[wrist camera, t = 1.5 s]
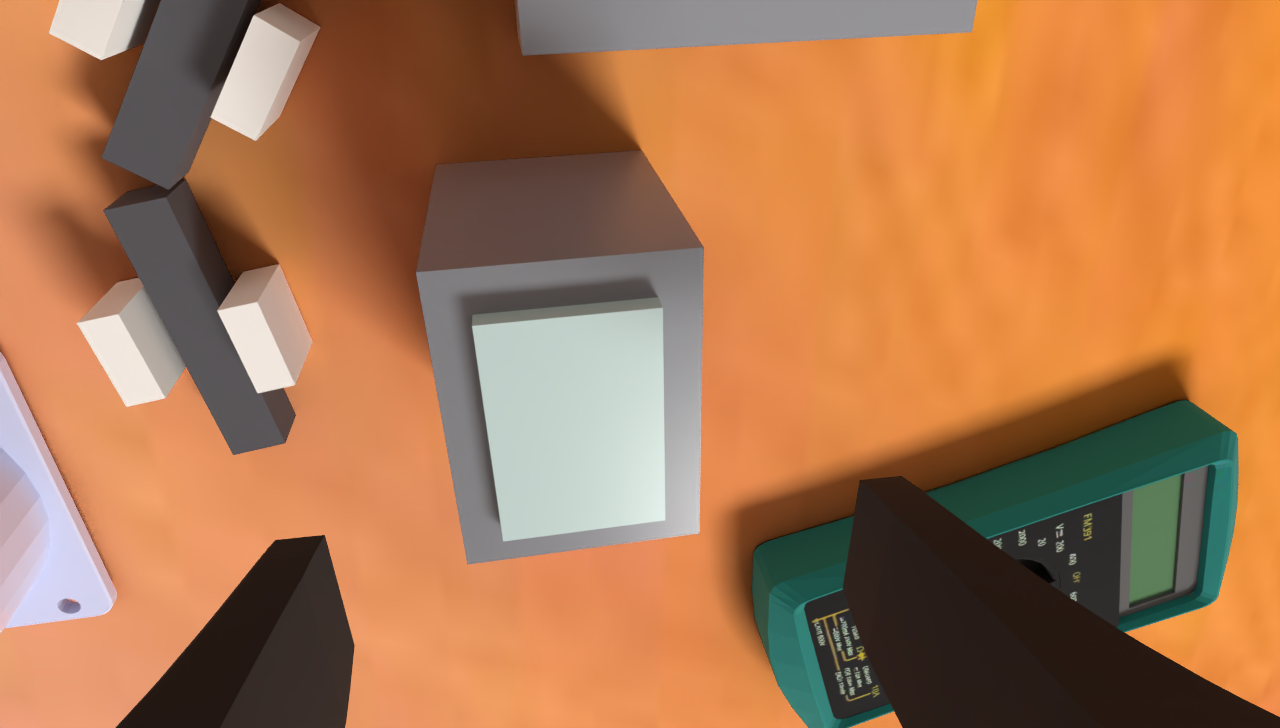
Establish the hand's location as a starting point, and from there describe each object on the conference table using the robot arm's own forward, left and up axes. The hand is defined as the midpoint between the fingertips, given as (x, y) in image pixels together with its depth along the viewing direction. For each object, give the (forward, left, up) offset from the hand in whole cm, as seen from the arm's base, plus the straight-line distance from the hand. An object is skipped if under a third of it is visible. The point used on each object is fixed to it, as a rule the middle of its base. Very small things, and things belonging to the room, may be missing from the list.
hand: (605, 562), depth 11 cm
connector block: (0, 0, -10) cm, 10 cm away
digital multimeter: (+13, -11, -10) cm, 20 cm away
